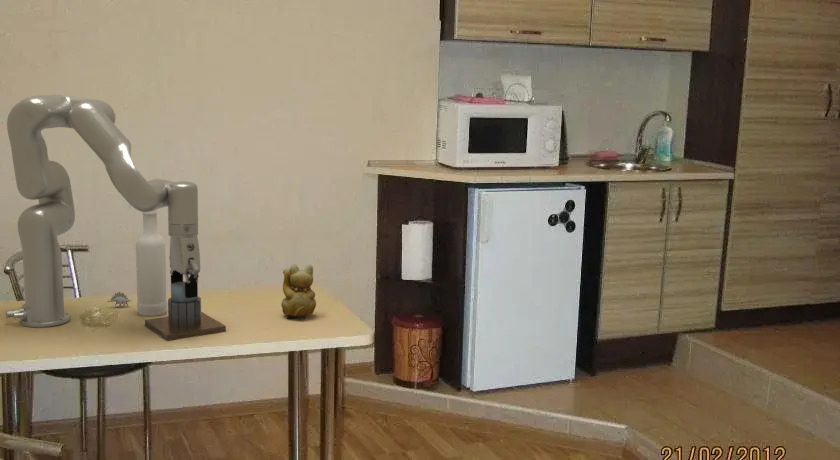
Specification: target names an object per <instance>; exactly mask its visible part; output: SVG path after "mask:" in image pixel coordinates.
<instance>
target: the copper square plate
mask: <svg viewBox="0 0 840 460" xmlns="http://www.w3.org/2000/svg"><path fill="white" fill-rule="evenodd" d="M167 310H168V311H167V313H168V316H164V317H157V318H149V319H144V326H145V327H147V328H148V329H149V330H150V331H152V332H154V333H155V334H156V335H158V336H159V337H160V338H161V339H164V341H167V342H170V341H175V340H180V339H181V340H182V339H187V338H192V337H193V338H194V337H201V336H206V335H212V334H218V333H223V332H224V333H225V332H227V328H226V327H227V326H226V325H225V324H223V322H222V323H221V322H220V321H219V320H216V319H215V318H213V317H211V316H209V315H208V314H206V313H205V312H203V311H202V298H201V297H200V296H198V299H197V300H196V301H193V302H185V303H180V302H173V301H171V297H169V298H168V300H167Z"/></svg>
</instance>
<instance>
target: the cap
mask: <svg viewBox="0 0 840 460" xmlns="http://www.w3.org/2000/svg"><path fill="white" fill-rule="evenodd" d="M185 283H187V282H186V280H185V281H184V280H183V282H175V283H172V284H171V283H170V298H171V301H173V302H180V303H185V302H193V301H196V300H197V299H198V297H199V295H198V296H197V297H192V298H186V297H185Z"/></svg>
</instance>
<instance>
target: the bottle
mask: <svg viewBox="0 0 840 460" xmlns="http://www.w3.org/2000/svg"><path fill="white" fill-rule="evenodd" d="M157 210H158V209H156V210H153V211H151V212H142V221H143V222H142V224H143V225H142V226H143V227H142V229H143V232H142V233H141V235H139V236H138V238H137V239H136V240H137V241H136V244H135V260H136V261H135V262H136V294H137V295H136V298H137V299H136V300H137V301H136V308H137V314H138V315H139V316H143V317H157V316H161V315H165V314H166V313H167V312H168V311H167V310H168V300H167V272H166V271H167V269H166V267H167V266H166V264H167V263H166V262H167V261H166V243H165V240H164V238H163V236H162V235H161V233H159V232H158V218H157V217H158V216H157V215H158V211H157Z"/></svg>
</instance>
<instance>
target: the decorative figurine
mask: <svg viewBox="0 0 840 460" xmlns="http://www.w3.org/2000/svg"><path fill="white" fill-rule="evenodd" d="M282 273H283V275H284V276H283V282H282V292H283V294H284V298H282V300H281V308H282V309H281V310H282V313H283V315H286V316H287V320H305V319H306V317H307V316H309V315H312V314H314V311H315V309H316V306H317V301H316V299H315V297H316V293H315V291H314V290H313V289H312V287H311V286H312V285H313V282H314V275H313V274H314V267H313V265H312V264H308V265H306V266H305V267H304V270H303V269H300V267H299V265H297V264H295V263H292V264H291V266H290V268H285V269H283V271H282Z"/></svg>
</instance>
